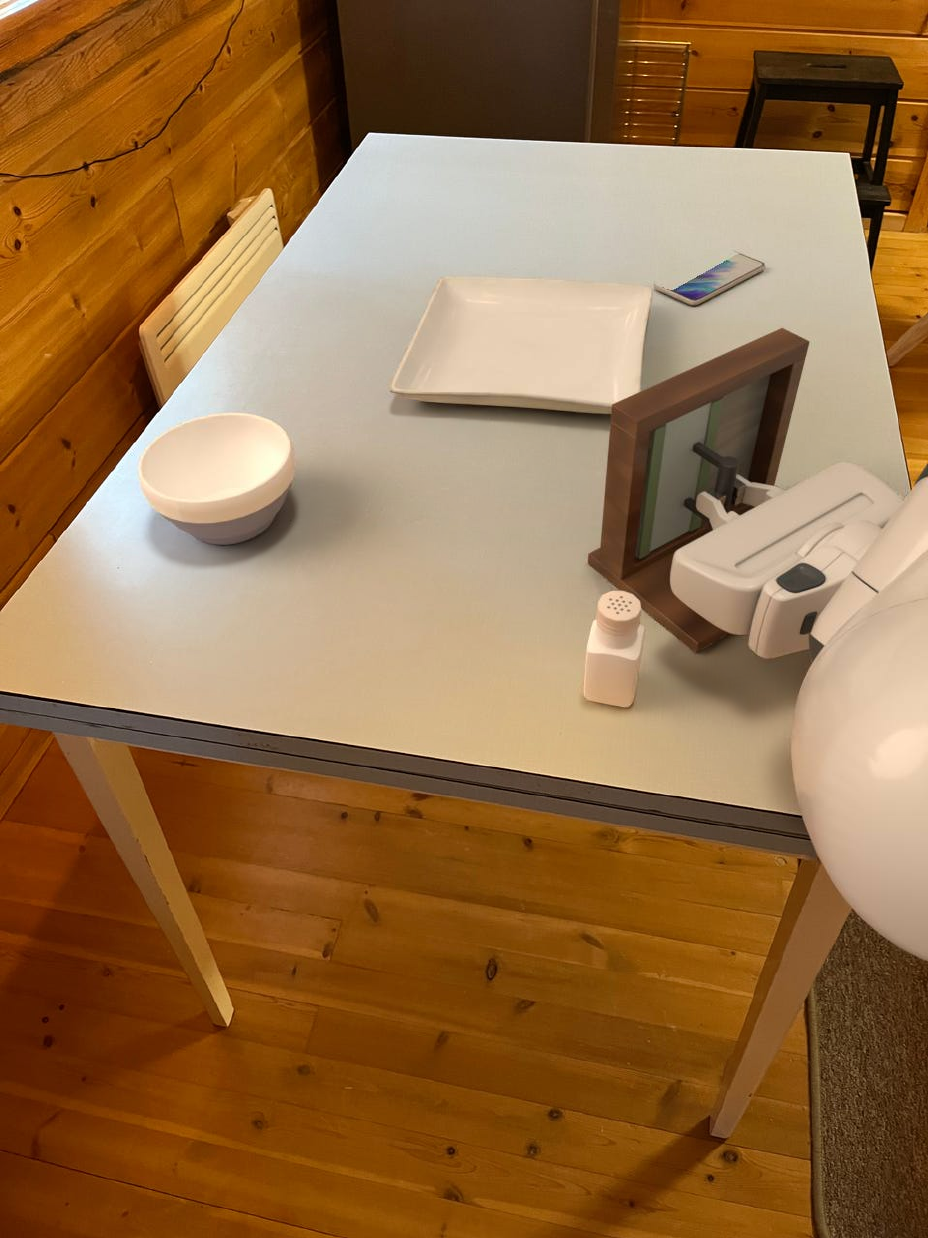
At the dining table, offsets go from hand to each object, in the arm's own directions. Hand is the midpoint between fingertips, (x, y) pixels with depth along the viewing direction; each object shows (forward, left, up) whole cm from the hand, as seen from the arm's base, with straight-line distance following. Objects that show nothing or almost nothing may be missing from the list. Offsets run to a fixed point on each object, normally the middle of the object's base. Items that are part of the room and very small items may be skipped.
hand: (714, 490), depth 77 cm
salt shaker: (+1, +17, -9) cm, 19 cm away
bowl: (+43, +16, -9) cm, 47 cm away
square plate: (+32, -24, -9) cm, 41 cm away
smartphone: (+21, -53, -9) cm, 58 cm away
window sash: (+1, +1, -7) cm, 7 cm away
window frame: (-1, -2, -9) cm, 9 cm away
